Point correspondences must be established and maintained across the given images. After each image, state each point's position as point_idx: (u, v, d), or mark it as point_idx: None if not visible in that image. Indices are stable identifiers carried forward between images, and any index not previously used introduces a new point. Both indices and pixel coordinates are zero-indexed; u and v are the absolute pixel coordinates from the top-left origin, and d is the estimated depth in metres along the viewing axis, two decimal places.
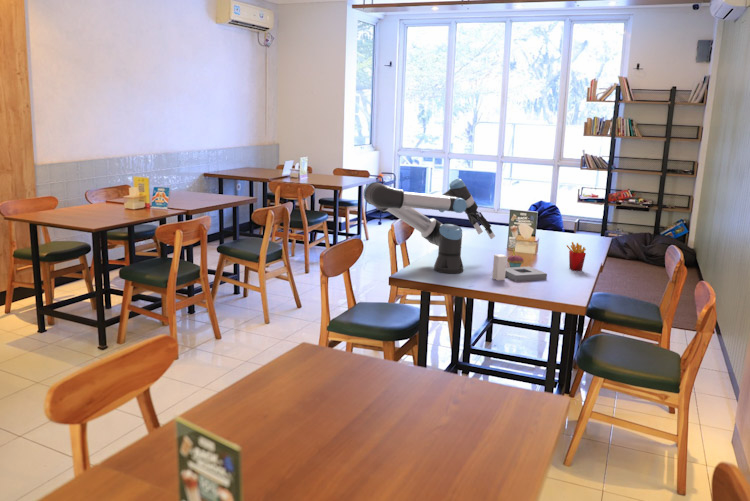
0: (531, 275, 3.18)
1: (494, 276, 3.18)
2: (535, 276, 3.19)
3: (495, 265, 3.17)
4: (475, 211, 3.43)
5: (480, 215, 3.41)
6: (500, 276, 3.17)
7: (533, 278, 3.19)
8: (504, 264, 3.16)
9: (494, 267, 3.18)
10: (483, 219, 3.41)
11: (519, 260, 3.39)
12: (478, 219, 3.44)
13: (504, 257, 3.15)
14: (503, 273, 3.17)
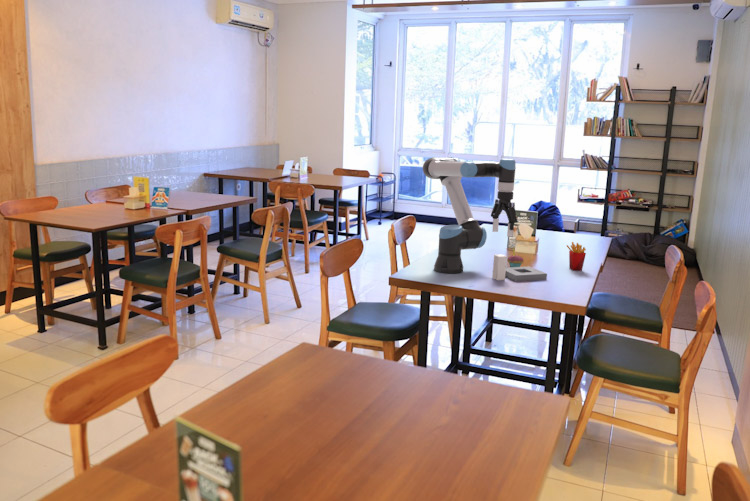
0: (531, 275, 3.18)
1: (494, 276, 3.18)
2: (535, 276, 3.19)
3: (495, 265, 3.17)
4: (509, 200, 3.08)
5: (512, 205, 3.06)
6: (500, 276, 3.17)
7: (533, 278, 3.19)
8: (504, 264, 3.16)
9: (494, 267, 3.18)
10: (513, 211, 3.05)
11: (519, 260, 3.39)
12: (507, 210, 3.08)
13: (504, 257, 3.15)
14: (503, 273, 3.17)
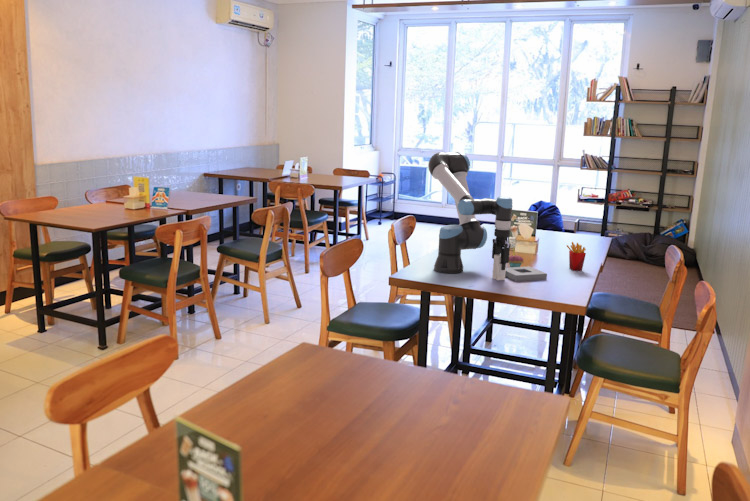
0: (531, 275, 3.18)
1: (494, 276, 3.18)
2: (535, 276, 3.19)
3: (495, 265, 3.17)
4: (505, 238, 3.11)
5: (508, 247, 3.10)
6: (500, 276, 3.17)
7: (533, 278, 3.19)
8: None
9: (494, 267, 3.18)
10: (507, 252, 3.11)
11: (519, 260, 3.39)
12: (502, 249, 3.13)
13: None
14: None
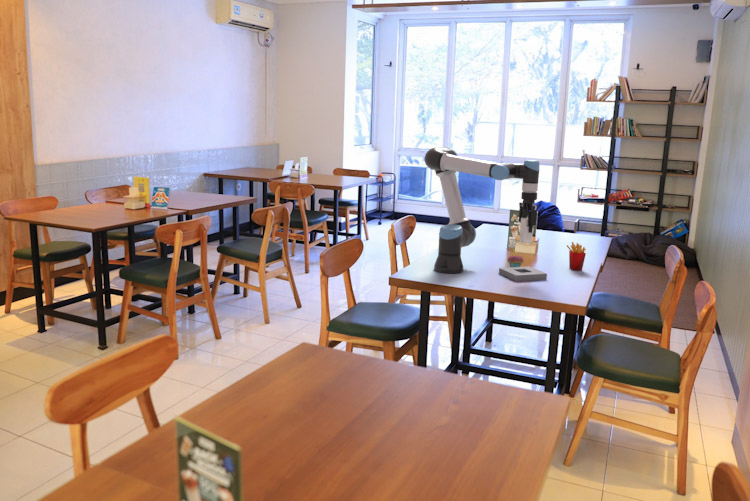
0: (531, 275, 3.18)
1: (521, 239, 3.21)
2: (535, 276, 3.19)
3: (522, 228, 3.20)
4: (533, 200, 3.14)
5: (535, 209, 3.13)
6: (527, 239, 3.20)
7: (533, 278, 3.19)
8: None
9: (521, 230, 3.21)
10: (534, 214, 3.14)
11: (519, 260, 3.39)
12: (529, 211, 3.16)
13: None
14: None
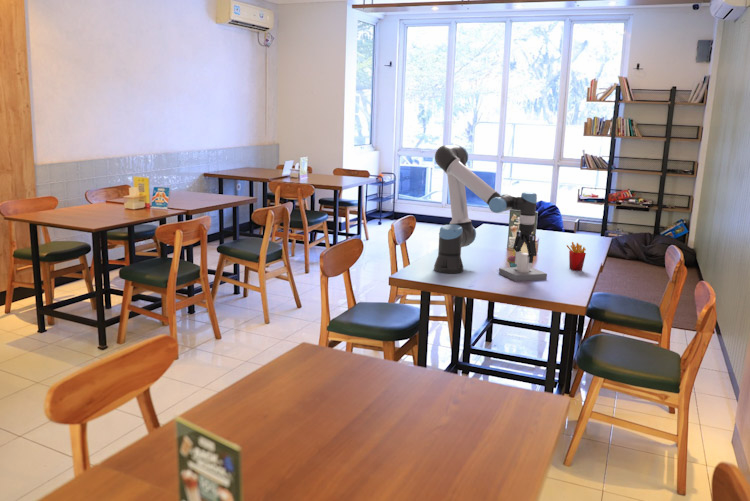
0: (531, 275, 3.18)
1: None
2: (535, 276, 3.19)
3: (519, 263, 3.24)
4: (530, 232, 3.18)
5: (533, 239, 3.16)
6: None
7: (533, 278, 3.19)
8: None
9: (518, 265, 3.25)
10: (533, 244, 3.16)
11: None
12: (527, 242, 3.19)
13: None
14: (526, 270, 3.23)
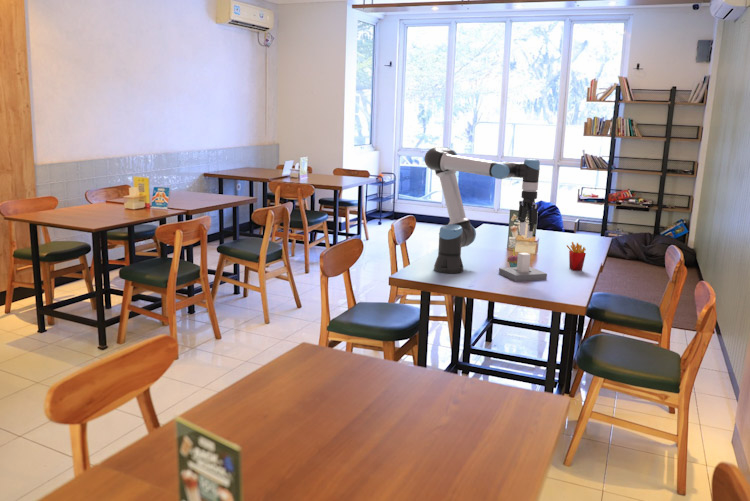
0: (531, 275, 3.18)
1: None
2: (535, 276, 3.19)
3: (519, 263, 3.24)
4: (533, 199, 3.14)
5: (536, 207, 3.13)
6: None
7: (533, 278, 3.19)
8: (528, 262, 3.23)
9: (518, 265, 3.25)
10: (535, 213, 3.13)
11: None
12: (529, 210, 3.16)
13: (528, 255, 3.22)
14: (526, 270, 3.23)
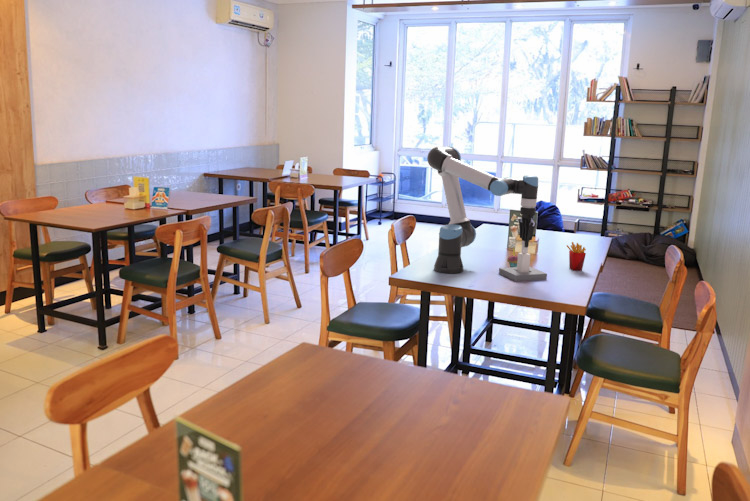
0: (531, 275, 3.18)
1: None
2: (535, 276, 3.19)
3: (519, 263, 3.24)
4: (531, 216, 3.16)
5: (533, 225, 3.15)
6: None
7: (533, 278, 3.19)
8: (528, 262, 3.23)
9: (518, 265, 3.25)
10: (532, 230, 3.16)
11: None
12: (527, 227, 3.19)
13: (528, 255, 3.22)
14: (526, 270, 3.23)
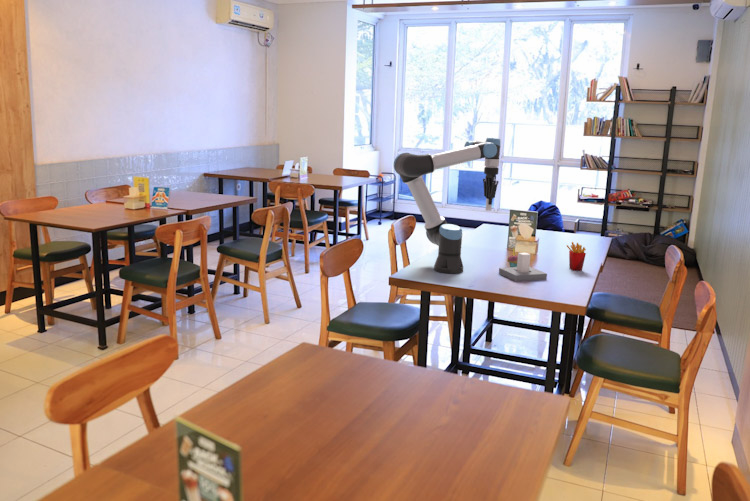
0: (531, 275, 3.18)
1: None
2: (535, 276, 3.19)
3: (519, 263, 3.24)
4: (494, 175, 3.41)
5: (496, 184, 3.40)
6: None
7: (533, 278, 3.19)
8: (528, 262, 3.23)
9: (518, 265, 3.25)
10: (494, 188, 3.41)
11: None
12: (490, 185, 3.43)
13: (528, 255, 3.22)
14: (526, 270, 3.23)
